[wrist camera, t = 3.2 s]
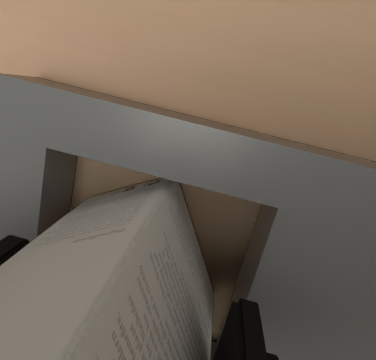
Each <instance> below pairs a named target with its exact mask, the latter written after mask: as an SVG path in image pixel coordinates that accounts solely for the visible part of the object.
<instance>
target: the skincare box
mask: <svg viewBox="0 0 376 360" xmlns="http://www.w3.org/2000/svg"><path fill="white" fill-rule="evenodd" d="M213 302H214V292H213V289H212V285H211V282H210V279H209V276H208V272H207V269H206V266H205V263H204V260H203V256H202V253H201V250H200V247H199V243H198V240H197V237H196V234H195V231H194V228H193V224H192V221H191V218H190V215H189V212H188V209H187V206H186V202H185V199H184V196H183V193H182V190H181V186H180V183H179V182H176V181H172V180H168V179H164V178H160V179H156V180H152V181H148V182H144V183H140V184H136V185H133V186H129V187H126V188H122V189H119V190H115V191H111V192H108V193H104V194H100V195H96V196H92V197H89V198H87V199H86V200H84V201H83V202H82V203H81V204H79V205H78V206H77V207H76V208H74V209H73V210H72V211H70V212H69V213H68V214H66V215H65V216H64V217H62V218H61V219H60V220H58V221H57V222H56V223H55V224H53V225H52V226H51V227H50V228H48V229H47V230H46V231H44V232H43V233H42V234H41V235H39V236H38V237H37V238H35V239H34V240H33V241H31V242H30V243H29V244H28V245H26V246H25V247H24V248H22V249H21V250H20V251H19V252H17V253H16V254H15V255H13V256H12V257H11V258H10V259H8V260H7V261H6V262H4V263H3V264H2V265H1V266H0V360H210V353H211V336H212V318H213Z"/></svg>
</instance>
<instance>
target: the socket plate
mask: <svg viewBox="0 0 376 360" xmlns="http://www.w3.org/2000/svg"><path fill="white" fill-rule="evenodd" d="M77 156H80V157H84V158H88V159H91V160H95V161H99V162H103V163H107V164H111V165H114V166H118V167H122V168H126V169H130V170H133V171H137V172H141V173H145V174H149V175H153V176H156V177H160V178H164V179H168V180H172V181H176V182H179V183H183V184H187V185H191V186H195V187H199V188H202V189H206V190H210V191H214V192H218V193H222V194H225V195H229V196H233V197H237V198H241V199H244V200H248V201H252V202H256V203H260V204H262V206H261V209H260V212H259V215H258V218H257V221H256V224H255V227H254V230H253V234H252V237H251V240H250V243H249V246H248V249H247V252H246V255H245V258H244V261H243V264H242V267H241V270H240V273H239V276H238V280H237V283H236V286H235V289H234V292H233V295H232V298H231V301H230V304H229V307H228V310H227V313H226V316H225V319H224V322H223V325H222V329H221V332H220V335H219V338H218V341H217V342H214V341H211V353H210V360H213V358H214V355H215V352H216V349H217V346H218V343H219V340H220V337H221V334H222V331H223V327H224V324H225V321H226V318H227V315H228V312H229V309H230V306H231V303H232V301H235V302H238V301H239V299H240V298H242V299H246V300H249V301H253V302H257V303H258V305H259V310H260V316H261V322H262V328H263V334H264V340H265V346H266V352H267V353H271V354H274V355H277V357H278V358H279V360H376V162H373V161H369V160H365V159H361V158H357V157H353V156H349V155H345V154H341V153H337V152H333V151H329V150H325V149H321V148H317V147H313V146H309V145H305V144H301V143H297V142H293V141H289V140H285V139H281V138H277V137H273V136H269V135H265V134H261V133H257V132H253V131H249V130H245V129H241V128H237V127H233V126H229V125H226V124H222V123H218V122H214V121H210V120H206V119H202V118H198V117H194V116H190V115H186V114H182V113H178V112H174V111H170V110H166V109H162V108H158V107H154V106H150V105H146V104H142V103H138V102H134V101H130V100H126V99H122V98H118V97H114V96H110V95H106V94H102V93H98V92H94V91H90V90H86V89H82V88H78V87H74V86H70V85H66V84H62V83H58V82H54V81H50V80H46V79H42V78H37V77H28V76H19V75H10V74H1V73H0V240H2V239H3V238H5V237H6V236H8V235H14V236H17V237H21V238H25V239H28V240H29V243H30V242H31V241H33V240H34V239H35V238H37V237H38V236H39V235H41V234H42V233H43V232H44V231H46V230H47V229H48V228H50V227H51V226H52V225H53V224H55V223H56V222H57V221H58V220H60V219H61V218H62V217H64V216H65V215H66V214H68V213H69V212H70V205H71V198H72V191H73V183H74V176H75V169H76V161H77Z"/></svg>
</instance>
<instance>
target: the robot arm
mask: <svg viewBox="0 0 376 360" xmlns="http://www.w3.org/2000/svg"><path fill="white" fill-rule="evenodd" d="M28 244H29V240H28V239H25V238H21V237H17V236H14V235H8V236H6V237H5V238H3V239H2V240H0V266H1V265H2V264H3V263H4V262H6V261H7V260H8V259H10V258H11V257H12V256H13V255H15V254H16V253H17V252H19V251H20V250H21V249H22V248H24V247H25V246H26V245H28ZM213 360H279V358H278V357H277V355H274V354H271V353H267V352H266V346H265V340H264V334H263V328H262V322H261V316H260V310H259V305H258V303H257V302H253V301H249V300H246V299H242V298H240V299H239V301H238V302H235V301H232V303H231V306H230V309H229V312H228V315H227V318H226V321H225V324H224V327H223V331H222V334H221V337H220V340H219V343H218V346H217V349H216V352H215V355H214V358H213Z"/></svg>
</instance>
